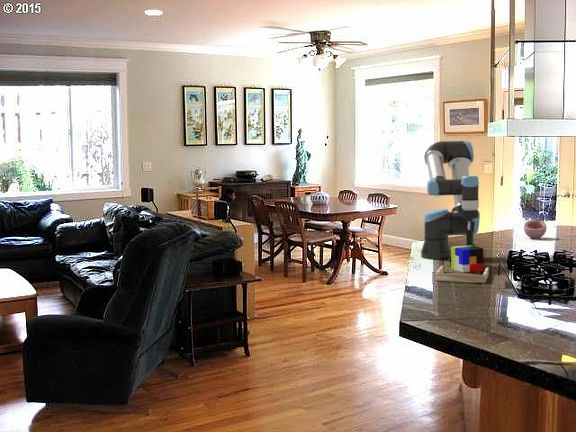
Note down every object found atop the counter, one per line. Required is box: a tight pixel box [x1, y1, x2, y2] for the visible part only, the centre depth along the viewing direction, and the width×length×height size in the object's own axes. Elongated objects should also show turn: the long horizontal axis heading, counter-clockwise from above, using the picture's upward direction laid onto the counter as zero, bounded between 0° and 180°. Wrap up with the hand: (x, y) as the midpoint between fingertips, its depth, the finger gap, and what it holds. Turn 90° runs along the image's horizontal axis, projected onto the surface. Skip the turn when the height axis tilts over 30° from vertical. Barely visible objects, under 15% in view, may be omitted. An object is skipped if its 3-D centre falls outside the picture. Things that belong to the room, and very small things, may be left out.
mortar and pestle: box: [523, 218, 547, 240], centre depth 375 cm, size 12×12×12 cm
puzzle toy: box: [450, 244, 484, 273], centre depth 294 cm, size 10×10×10 cm
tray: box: [434, 265, 490, 284], centre depth 277 cm, size 18×20×3 cm
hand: (470, 259), depth 305 cm, fingers closed
